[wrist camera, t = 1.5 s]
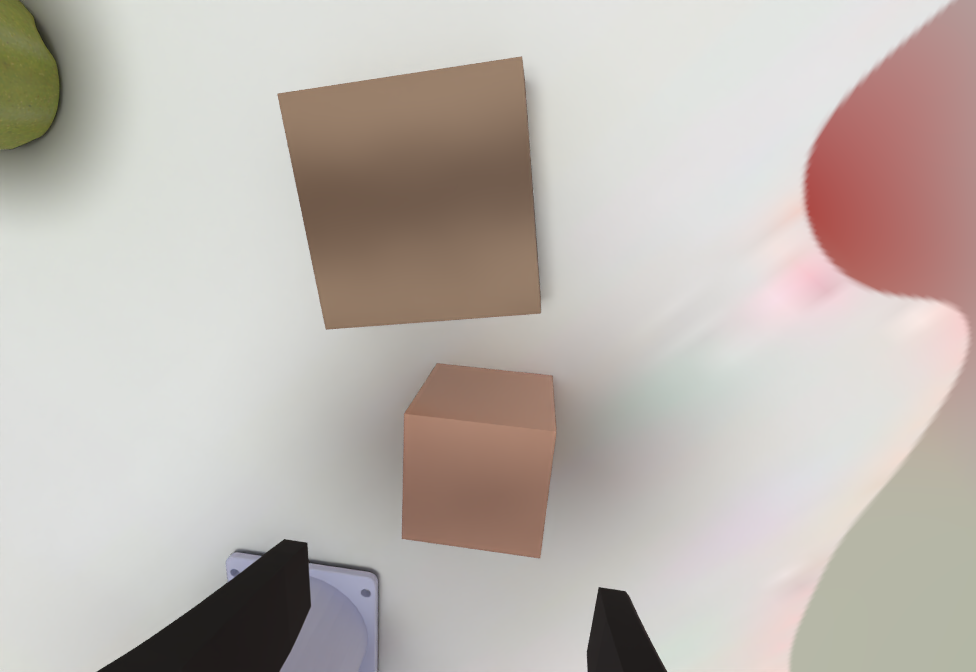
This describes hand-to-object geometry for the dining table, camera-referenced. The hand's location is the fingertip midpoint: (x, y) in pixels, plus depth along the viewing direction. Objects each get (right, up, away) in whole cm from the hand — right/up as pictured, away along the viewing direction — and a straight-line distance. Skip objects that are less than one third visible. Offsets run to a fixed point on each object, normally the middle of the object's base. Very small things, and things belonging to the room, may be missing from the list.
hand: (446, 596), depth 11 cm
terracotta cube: (+1, +3, +9) cm, 10 cm away
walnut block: (-1, +12, +7) cm, 14 cm away
